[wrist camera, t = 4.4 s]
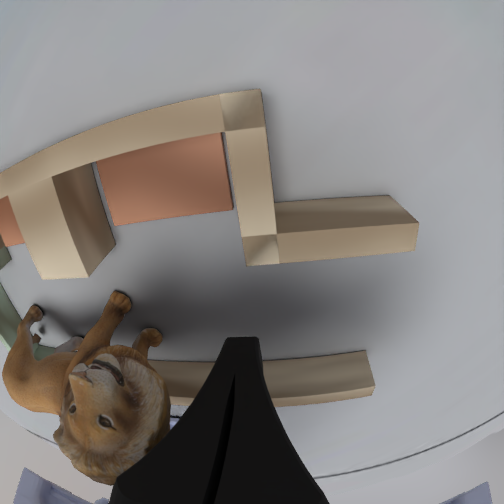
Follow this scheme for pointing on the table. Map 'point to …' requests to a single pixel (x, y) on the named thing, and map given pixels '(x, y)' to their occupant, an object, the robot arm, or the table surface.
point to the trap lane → (190, 203)
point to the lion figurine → (94, 392)
